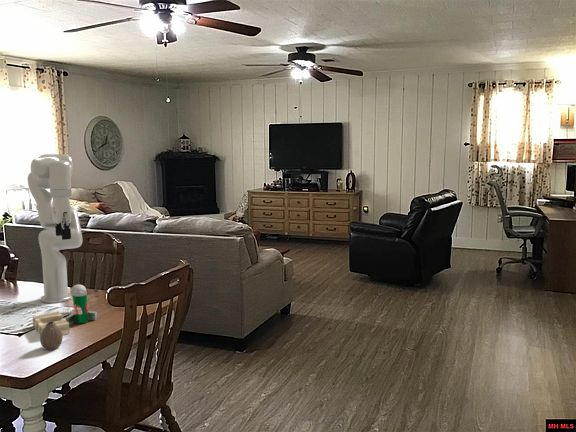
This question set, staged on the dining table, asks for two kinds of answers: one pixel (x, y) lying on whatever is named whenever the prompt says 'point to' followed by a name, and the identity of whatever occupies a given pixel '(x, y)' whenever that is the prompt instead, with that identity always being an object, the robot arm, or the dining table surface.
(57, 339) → the brown egg-shaped piece
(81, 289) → the lightbulb
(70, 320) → the grey angled tube
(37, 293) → the dining table surface
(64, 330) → the bore beam
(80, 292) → the soda can
